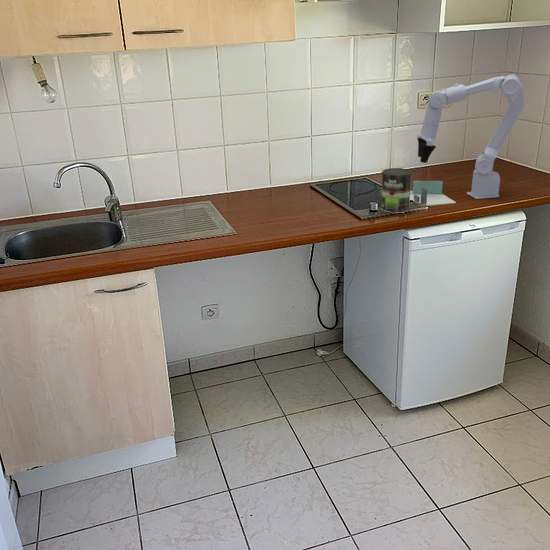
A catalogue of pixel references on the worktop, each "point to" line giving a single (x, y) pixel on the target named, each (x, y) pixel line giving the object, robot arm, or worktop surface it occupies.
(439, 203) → the base board
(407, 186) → the coffee can
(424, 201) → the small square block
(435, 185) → the gate
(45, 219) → the worktop surface
